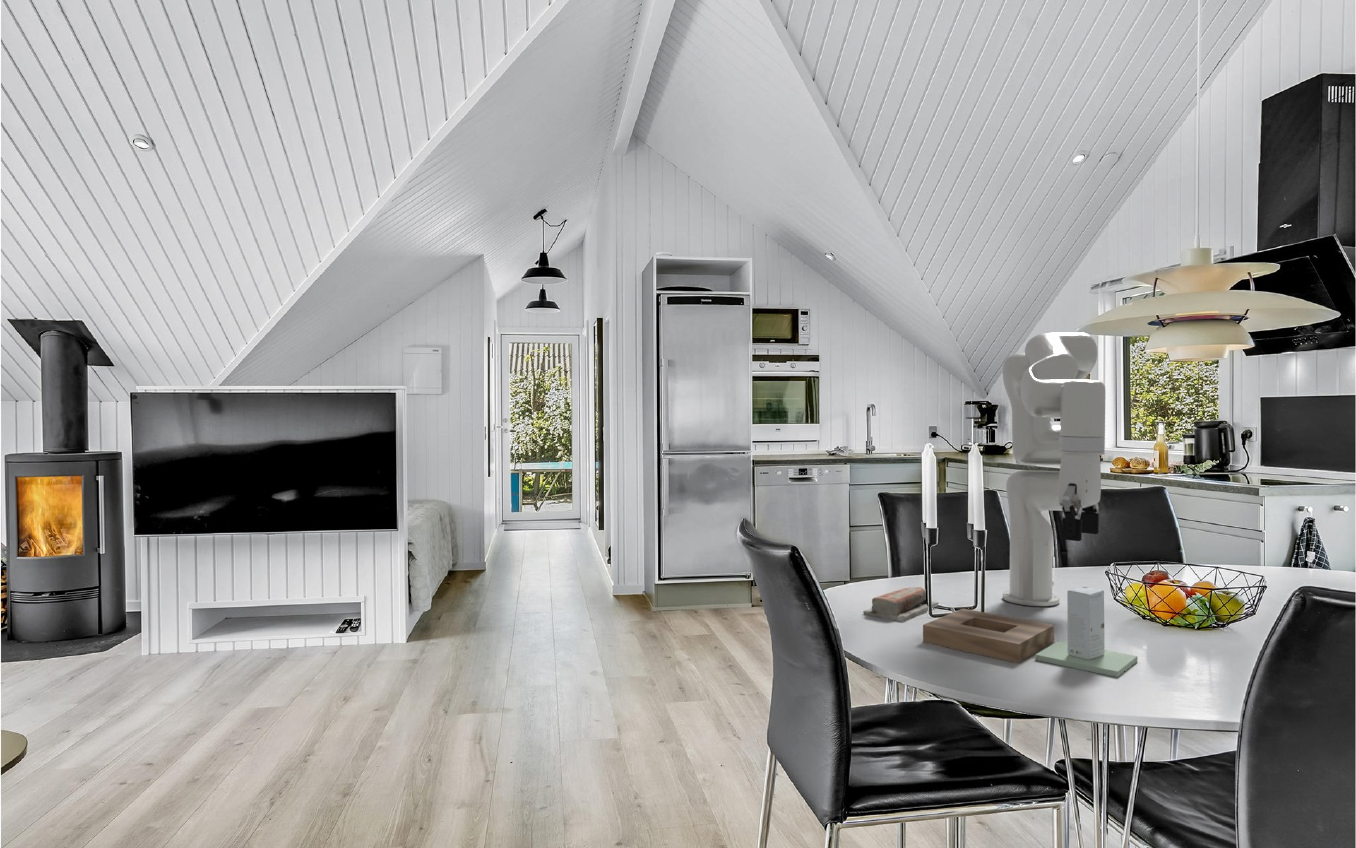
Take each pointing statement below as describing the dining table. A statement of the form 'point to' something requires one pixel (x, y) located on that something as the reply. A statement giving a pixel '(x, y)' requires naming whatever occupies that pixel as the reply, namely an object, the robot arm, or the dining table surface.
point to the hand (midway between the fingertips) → (1080, 536)
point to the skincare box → (1085, 622)
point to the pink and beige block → (900, 604)
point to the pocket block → (989, 634)
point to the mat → (1103, 664)
